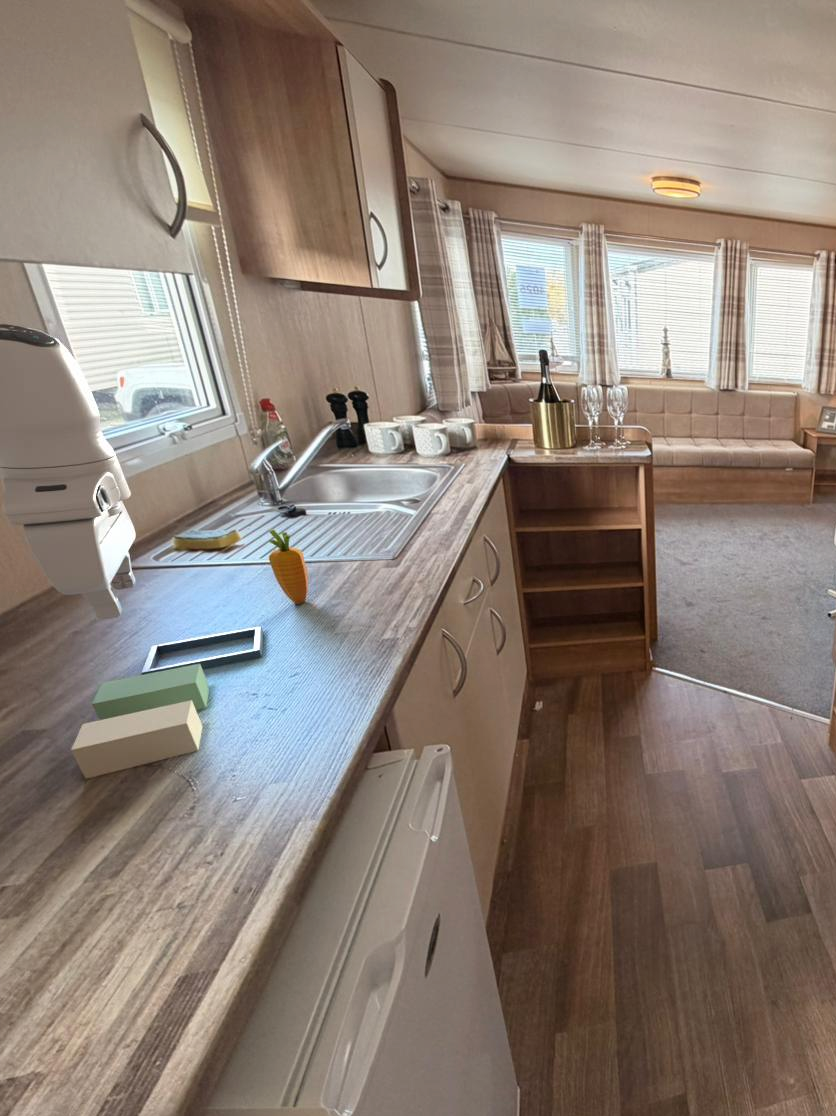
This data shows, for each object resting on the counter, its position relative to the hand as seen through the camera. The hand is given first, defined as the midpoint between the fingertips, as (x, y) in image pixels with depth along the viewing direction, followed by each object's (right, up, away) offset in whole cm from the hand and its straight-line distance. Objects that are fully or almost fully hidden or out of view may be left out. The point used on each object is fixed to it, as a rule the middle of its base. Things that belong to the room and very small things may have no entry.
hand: (119, 600), depth 75 cm
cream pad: (-2, -20, +5) cm, 20 cm away
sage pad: (-8, -16, +13) cm, 22 cm away
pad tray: (-14, -9, +26) cm, 31 cm away
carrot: (-14, -1, +45) cm, 47 cm away
